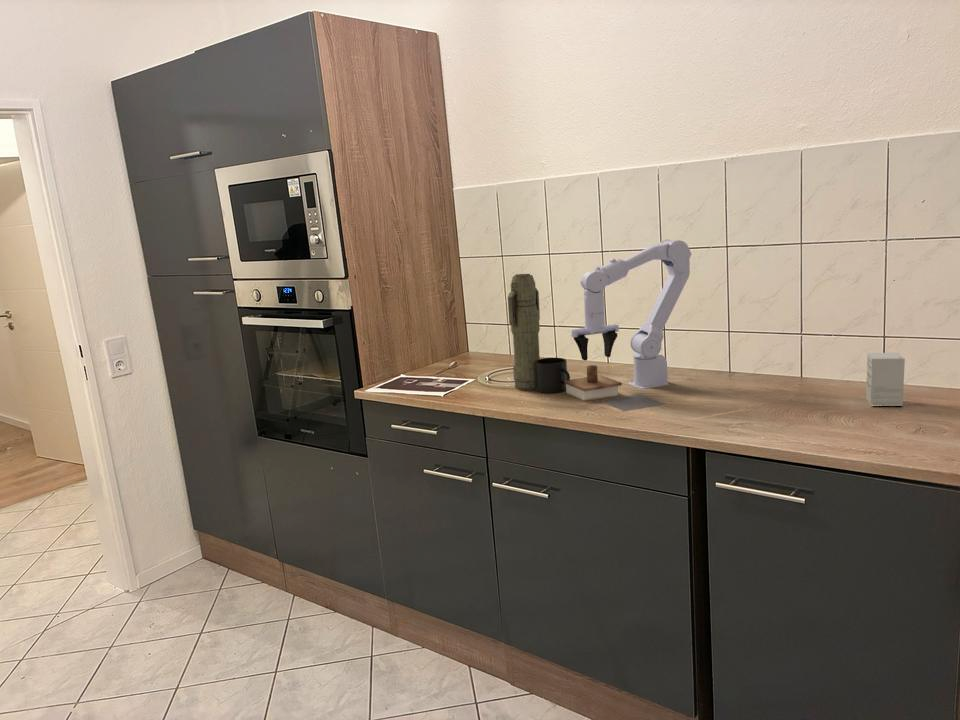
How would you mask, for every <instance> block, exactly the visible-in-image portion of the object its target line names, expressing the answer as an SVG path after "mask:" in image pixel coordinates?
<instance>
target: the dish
mask: <svg viewBox="0 0 960 720" xmlns="http://www.w3.org/2000/svg"><path fill="white" fill-rule="evenodd" d="M565 391H566V394H568V395H570V396H572V397H574V398H576V399H578V400H580V401H582V402H587V401H593V400H599V399H600V400H601V399H606V398H607V399H608V398H611V397H613V398H614V397H617V396H618V397H619V386H615V387H609V388H603V389H597V390H591V391H585V392H584V391H582V390H580V389H577V388H575V387H572V386H570V385H567V384H566V390H565Z"/></svg>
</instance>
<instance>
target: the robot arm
mask: <svg viewBox="0 0 960 720" xmlns="http://www.w3.org/2000/svg"><path fill="white" fill-rule="evenodd" d="M688 245H689V244H687V243H686V242H685V241H683V240H678V239H677V240H672V239H663V240H661V241H660V242H656V243H654V244H651V245H650V246H648V247H646V248H644V249H643V250H641V251H639V252H637V253H635V254H633V255H631V256H629V257H627V258H626V259H624V260H623V259H620V258H616V259H615V258H611V259H610V260H609V262H608V263H607V264H603V265H602V266H596V267H594V268H595V271H594V270H593V271H592V270H590V271H586V272H585V273H584V274H583V276H582V278H581V281H580V285H581V287H582V288H583V292H584V293H583V294H584V295H583V296H584V297H583V301H584V305H583V306H584V327H580V328H576V329H571V337H572V338H573V340H574V342H575V344H576V345H577V348H578V350H579V352H580V356H581V360H583V361H588V359H589V357H588V356H589V355H588V345H589V344H588V343H589V338H588V337H587V336H591V335H592V336H593V335H599V334H601V335H602V338H603V339H602V340H603V346H604V347H603V348H604V356H605V357H606V358H611V356H612V350H613V348H614V344H615V342H616V340H617V338H618V333H617V332H619V329H620V328H619V326H620V325H619V324H617V323H616V324H606V321H605V320H606V319H605V296H604V294H605V293H604V290H605V289H606V287H608V286H609V285H612V284H613V283H616V282H618V281H620V280H622V279H624V278H626V277H627V276H628V274H629V272H630V271H631V270H633V269H635V268H638V267H640V266H642V265H645V264H647V263H649V262H652V261H654V260H655V261H656V260H657V261H658V260H660V261H661V262H662V263H663V264H664V265H665V267H666V269H667V271H668V272H667V273H668V277H667V279H666V281H665V283H664V284H663V287H662V288H661V291H660V293H659V295H658V298H657V299H656V302H655V303H654V305H653V307H652V309H651V312H650V313H649V316H648V318H647V320H646V322H645V323H643V324H642V325H641V326H640V327H639V329H638V331H637V332H636V333H635V334H633V335H632V337H631V338H630V347H631V349H632V350H633V352H634V353H633V381H632V382H628V385H630V386H633V387H635V388H638V389H640V390H646V389H651V388H657V387H664V386H669V385H670V384H669V382H668V379H669V378H668V362H667V361H668V360H667V359H666V357H665V356H664V355H663V354H660V352H661V350H662V342H663V340H664V332H663V331H664V328H665V326H666V324H667V322H668V320H669V318H670V316H671V313H672V312H673V310H674V308H675V306H676V304H677V302H678V301H679V298H680V295H681V294H682V292H683V290H684V287H685V285H686V284H687V281H688V279H689V277H690V272H691V271H690V265H691V264H690V259H691V256H692V252H691V249H690V247H689V246H688Z"/></svg>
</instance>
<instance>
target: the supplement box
mask: <svg viewBox="0 0 960 720" xmlns="http://www.w3.org/2000/svg"><path fill="white" fill-rule="evenodd" d="M866 355H867V357H866V358H867V359H866V361H867V362H866V390H865V400H866V399H867V400H868V402H869V403H870V405H876V406H877V405H879V406H880V405H881V406H903V405H904V387H905V386H904V384H905V383H904V382H905V364H906V363H905V362H906V359H905V358H904V356H903V355H902V354H900V353H899V352H867V353H866ZM867 400H866V401H867ZM868 402H867V403H868ZM869 403H868V404H869ZM870 405H869V406H870ZM903 407H904V406H903Z"/></svg>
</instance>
